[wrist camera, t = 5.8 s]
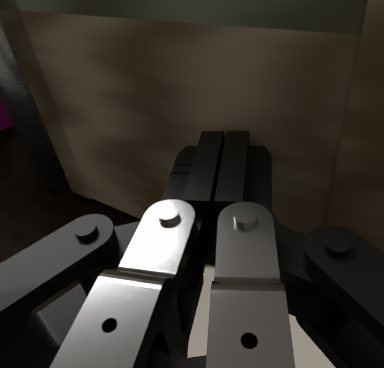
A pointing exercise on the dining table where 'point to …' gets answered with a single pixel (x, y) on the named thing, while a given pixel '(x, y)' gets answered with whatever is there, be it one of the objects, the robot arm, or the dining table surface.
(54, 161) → the hinge post
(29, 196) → the dining table surface
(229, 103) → the gate
